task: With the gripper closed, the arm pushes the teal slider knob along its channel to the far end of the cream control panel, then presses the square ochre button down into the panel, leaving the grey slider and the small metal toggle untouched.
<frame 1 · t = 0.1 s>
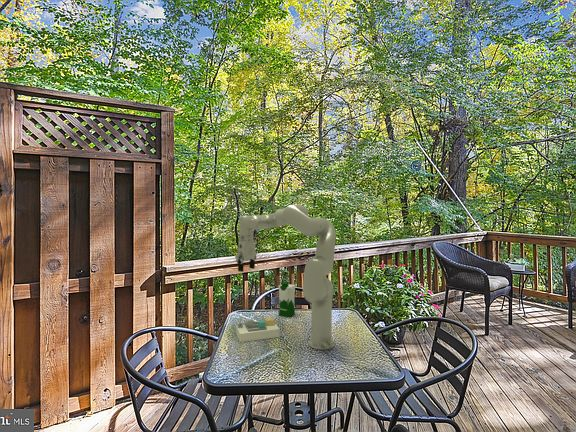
hand: (246, 269, 177), 31 cm above the table, tool pointing down, fingers open, 9 cm apart
slider teal: (261, 325, 164), point 6 cm above the table, slide at 0.0 cm
slider grey: (249, 322, 167), point 6 cm above the table, slide at 5.0 cm
milk carton: (287, 315, 197), on the table
button: (269, 324, 170), point 4 cm above the table, slide at 0.0 cm
panel: (257, 335, 166), on the table
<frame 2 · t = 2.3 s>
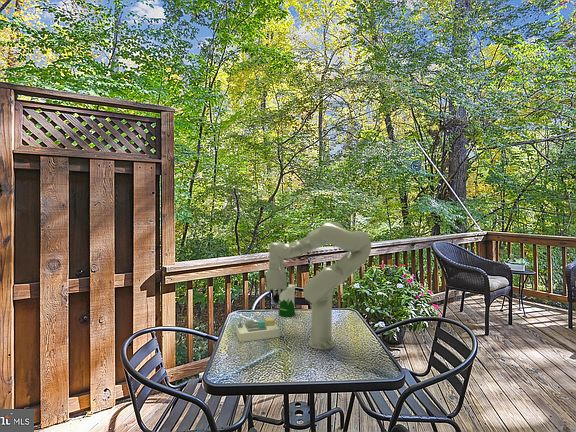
hand: (276, 302, 166), 17 cm above the table, tool pointing down, fingers closed
nothing on the table moved.
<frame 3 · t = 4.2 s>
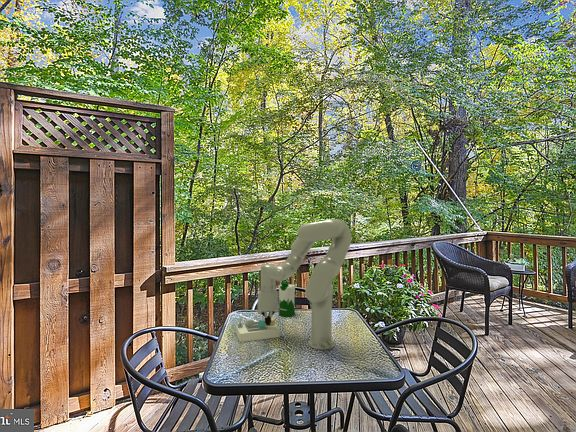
hand: (267, 324, 165), 6 cm above the table, tool pointing down, fingers closed
slider teal: (261, 325, 164), point 6 cm above the table, slide at 0.0 cm, touching gripper
everything else where it was.
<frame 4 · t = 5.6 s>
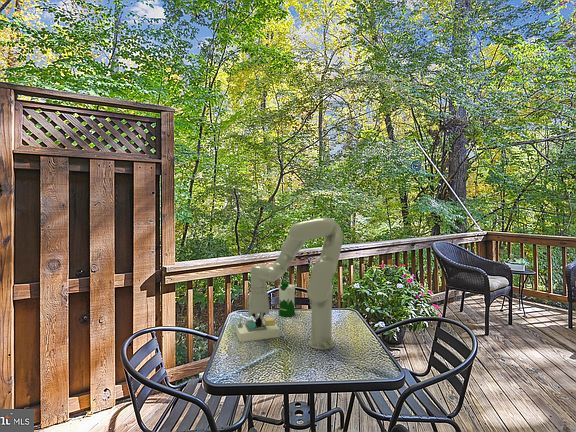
hand: (258, 326, 163), 5 cm above the table, tool pointing down, fingers closed
slider teal: (251, 326, 162), point 6 cm above the table, slide at 5.0 cm, touching gripper
everything else where it was.
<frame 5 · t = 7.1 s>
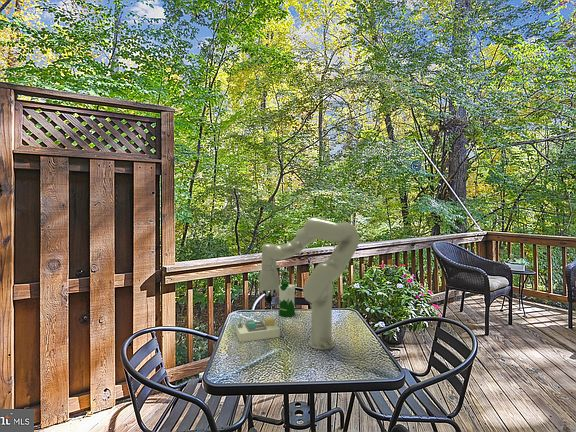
hand: (268, 302, 169), 15 cm above the table, tool pointing down, fingers closed
slider teal: (251, 326, 162), point 6 cm above the table, slide at 5.0 cm
everything else where it was.
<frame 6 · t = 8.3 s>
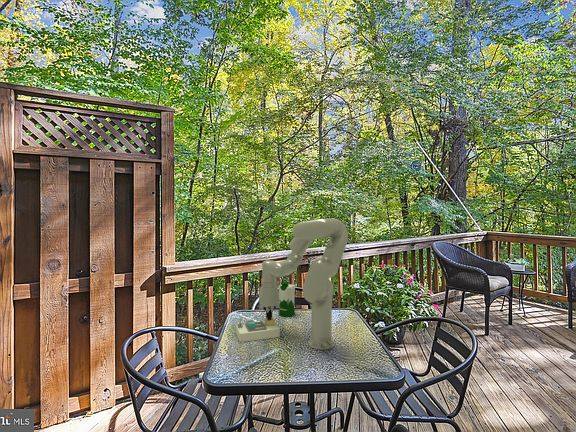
hand: (269, 319, 170), 7 cm above the table, tool pointing down, fingers closed
button: (269, 324, 170), point 4 cm above the table, slide at 0.0 cm, touching gripper
everything else where it was.
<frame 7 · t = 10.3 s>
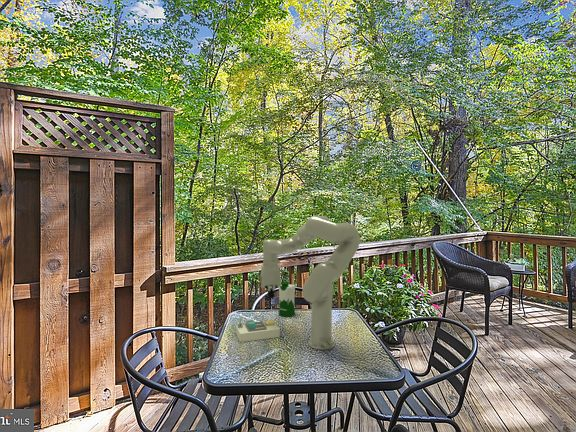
hand: (270, 298, 170), 18 cm above the table, tool pointing down, fingers closed
button: (269, 326, 170), point 3 cm above the table, slide at -1.5 cm
everything else where it was.
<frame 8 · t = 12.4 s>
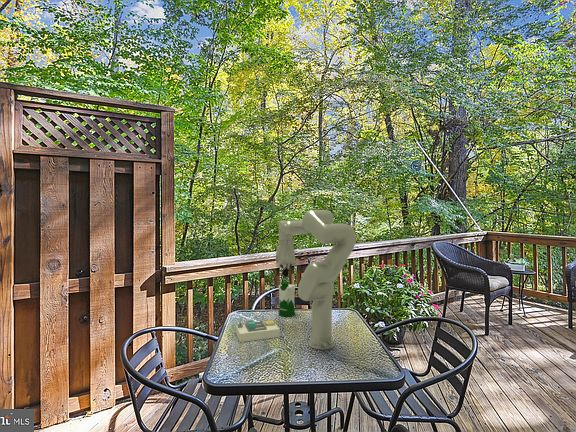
hand: (285, 276, 179), 27 cm above the table, tool pointing down, fingers closed
nothing on the table moved.
at the end: slider teal slide at 5.0 cm; button slide at -1.5 cm; slider grey slide at 5.0 cm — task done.
